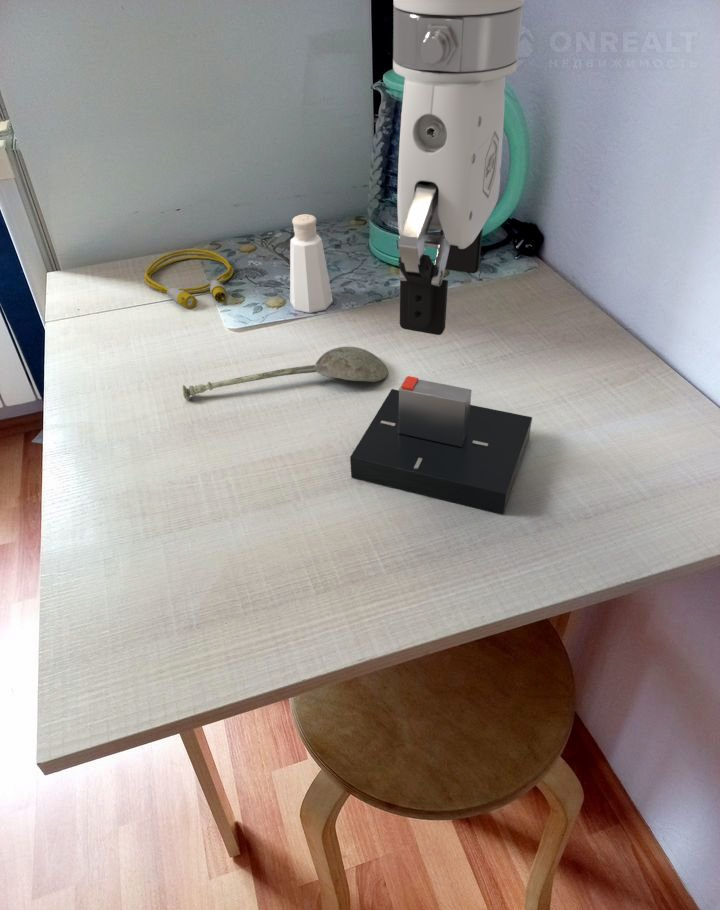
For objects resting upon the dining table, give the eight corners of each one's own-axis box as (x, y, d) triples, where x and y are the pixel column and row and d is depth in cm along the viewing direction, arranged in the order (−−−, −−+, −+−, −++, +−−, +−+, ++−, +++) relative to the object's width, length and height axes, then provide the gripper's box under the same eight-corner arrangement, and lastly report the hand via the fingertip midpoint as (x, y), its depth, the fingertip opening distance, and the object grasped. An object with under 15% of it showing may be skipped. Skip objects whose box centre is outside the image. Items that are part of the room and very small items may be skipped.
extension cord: (129, 313, 89) (125, 298, 87) (157, 257, 101) (154, 244, 99) (225, 310, 88) (223, 295, 87) (242, 255, 100) (240, 241, 99)
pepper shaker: (292, 292, 91) (283, 209, 84) (334, 292, 91) (329, 208, 84) (287, 313, 87) (277, 227, 80) (331, 313, 87) (325, 227, 80)
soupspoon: (394, 392, 75) (380, 361, 80) (395, 364, 73) (381, 334, 78) (184, 416, 72) (184, 382, 77) (179, 388, 70) (179, 355, 75)
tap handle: (467, 434, 64) (472, 387, 61) (462, 447, 63) (465, 400, 60) (405, 420, 66) (406, 374, 63) (398, 433, 65) (398, 386, 61)
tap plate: (529, 437, 68) (532, 415, 66) (503, 515, 60) (506, 492, 58) (391, 408, 72) (391, 387, 70) (351, 477, 64) (349, 455, 63)
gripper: (482, 82, 35) (459, 368, 46) (544, 16, 47) (514, 256, 58) (343, 72, 37) (353, 348, 49) (436, 11, 49) (427, 244, 61)
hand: (441, 297), depth 53 cm, fingers open, 9 cm apart
